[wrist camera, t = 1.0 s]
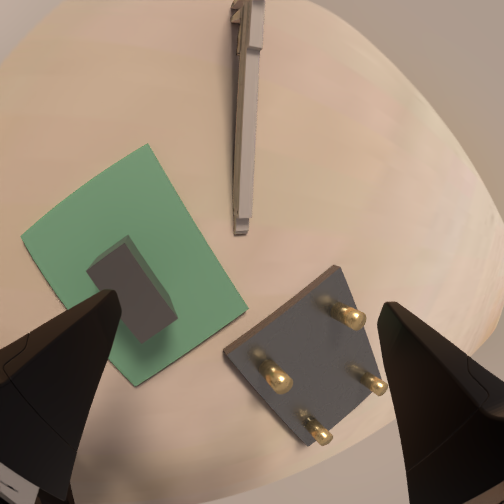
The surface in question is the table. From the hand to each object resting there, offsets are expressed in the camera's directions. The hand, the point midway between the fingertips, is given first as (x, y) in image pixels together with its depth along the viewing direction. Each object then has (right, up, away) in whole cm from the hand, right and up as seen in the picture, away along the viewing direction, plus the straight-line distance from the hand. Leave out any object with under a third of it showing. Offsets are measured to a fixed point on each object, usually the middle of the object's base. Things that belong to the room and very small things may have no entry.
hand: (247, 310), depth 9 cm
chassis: (+7, -10, +18) cm, 21 cm away
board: (-8, 0, +10) cm, 13 cm away
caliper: (-1, +13, +11) cm, 17 cm away
